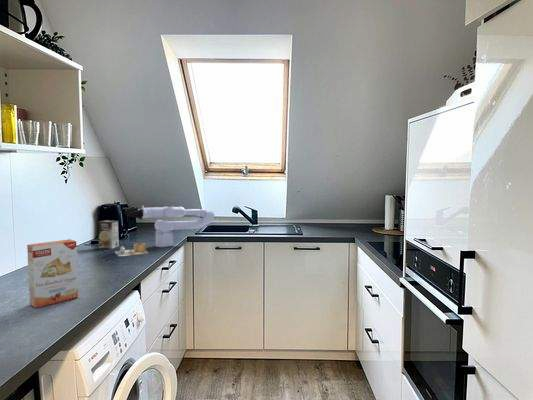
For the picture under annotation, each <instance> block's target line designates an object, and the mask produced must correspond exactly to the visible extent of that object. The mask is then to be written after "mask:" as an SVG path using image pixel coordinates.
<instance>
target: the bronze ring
mask: <svg viewBox="0 0 533 400" xmlns="http://www.w3.org/2000/svg"><path fill="white" fill-rule="evenodd" d="M146 247H147V244H146V243H145V242H136V243H134V244H133V249H134V252H145V251H147V248H146Z"/></svg>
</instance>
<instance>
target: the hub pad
mask: <svg viewBox="0 0 533 400" xmlns="http://www.w3.org/2000/svg"><path fill="white" fill-rule="evenodd" d="M129 253H130V252H127V251H125V253H121V252H117V253H115V252H114V254H115V255H117V256H118V255H125V254H129Z"/></svg>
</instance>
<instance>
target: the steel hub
mask: <svg viewBox="0 0 533 400" xmlns="http://www.w3.org/2000/svg"><path fill="white" fill-rule="evenodd" d="M119 249H120V250H119V251H121V253H125V250H126V249H125V246H124V245H121V246H120V248H119Z"/></svg>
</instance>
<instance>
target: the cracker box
mask: <svg viewBox="0 0 533 400" xmlns="http://www.w3.org/2000/svg"><path fill="white" fill-rule="evenodd" d="M26 250H27V271H28V272H27V273H28V275H27V276H28V292H29V305H30V306H32V307H33V308H34V309H38V308H41V307H46V306H50V305H53V304H58V302H59V303H62V301H63V302H65V300H67V301H70V300H69V299H71V300H73V299H72V298H75V299H77V298H76V297H78V298H79V283H78V281H79V280H78V255H77V254H78V253H77V252H78V251H77V250H78V247H77V241H76V240H74V239H68V238H67V239H61V240H53V241H48V242H45V241H44V242H37V243H30V244H27V245H26Z"/></svg>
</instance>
